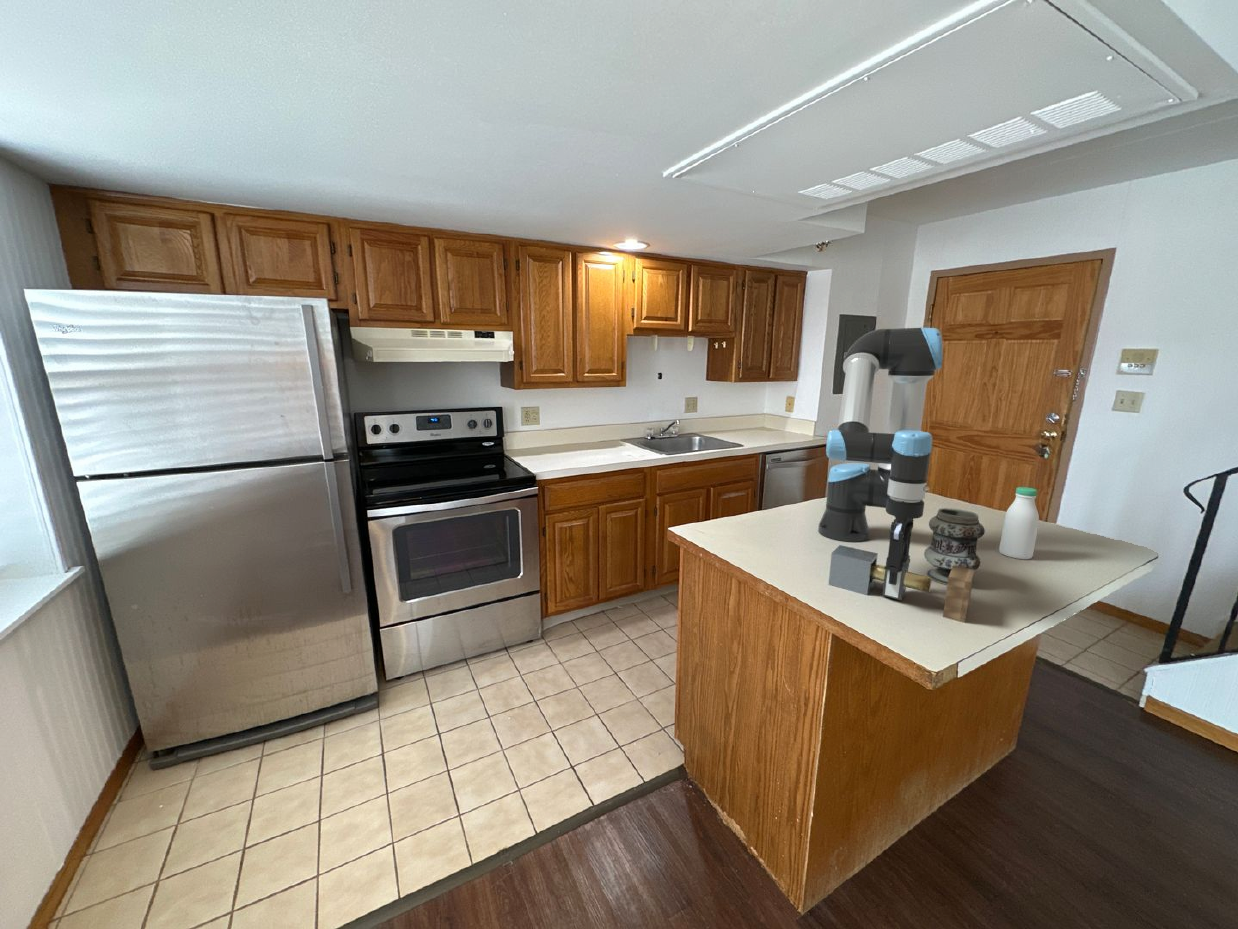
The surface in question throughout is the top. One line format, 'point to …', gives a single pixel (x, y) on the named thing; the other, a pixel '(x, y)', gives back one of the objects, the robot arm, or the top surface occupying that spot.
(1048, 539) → the top surface
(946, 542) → the apothecary jar
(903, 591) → the tube
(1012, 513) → the milk bottle
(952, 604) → the socket block
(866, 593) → the sleeve
